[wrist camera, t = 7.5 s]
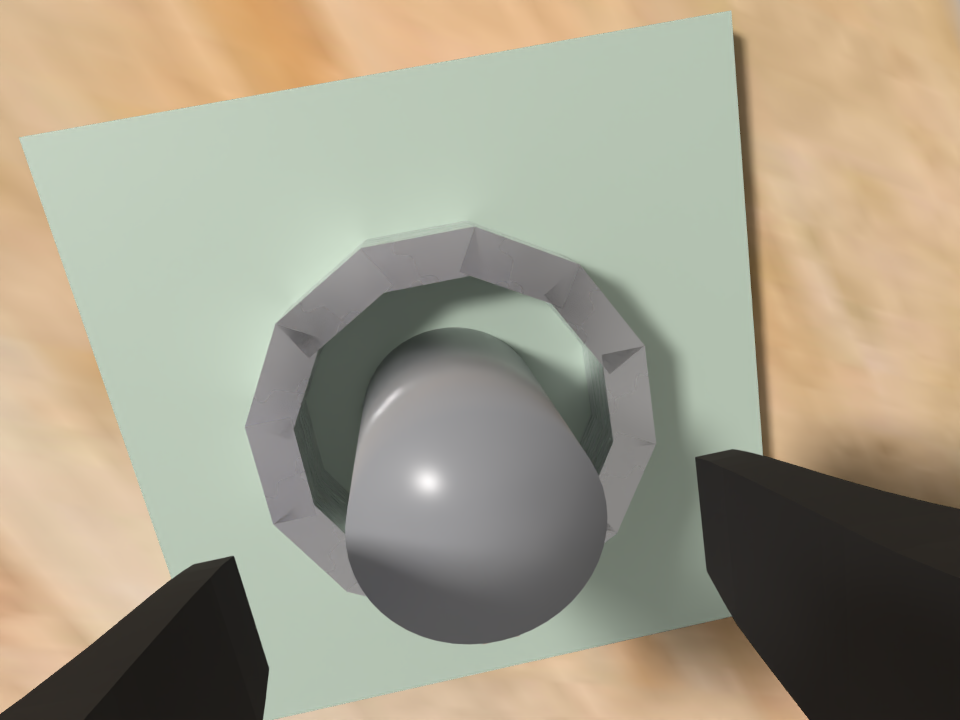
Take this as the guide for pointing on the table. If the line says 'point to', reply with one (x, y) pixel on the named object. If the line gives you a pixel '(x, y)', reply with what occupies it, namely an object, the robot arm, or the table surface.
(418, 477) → the grey rounded block
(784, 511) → the robot arm
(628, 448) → the duct collar
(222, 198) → the plate
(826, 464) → the table surface
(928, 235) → the table surface
